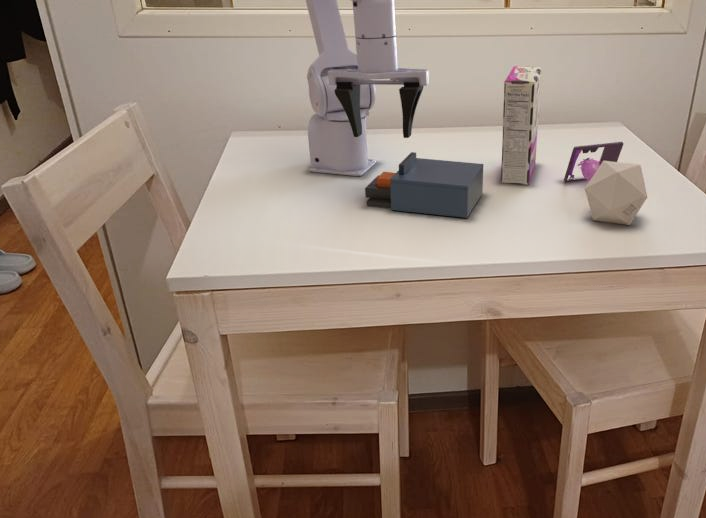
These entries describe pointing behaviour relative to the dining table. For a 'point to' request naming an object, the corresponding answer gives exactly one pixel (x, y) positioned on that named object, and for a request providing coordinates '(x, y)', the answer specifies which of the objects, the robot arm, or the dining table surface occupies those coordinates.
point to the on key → (384, 179)
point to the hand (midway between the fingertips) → (382, 136)
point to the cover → (436, 186)
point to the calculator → (378, 195)
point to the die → (616, 192)
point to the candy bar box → (520, 124)
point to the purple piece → (591, 165)
